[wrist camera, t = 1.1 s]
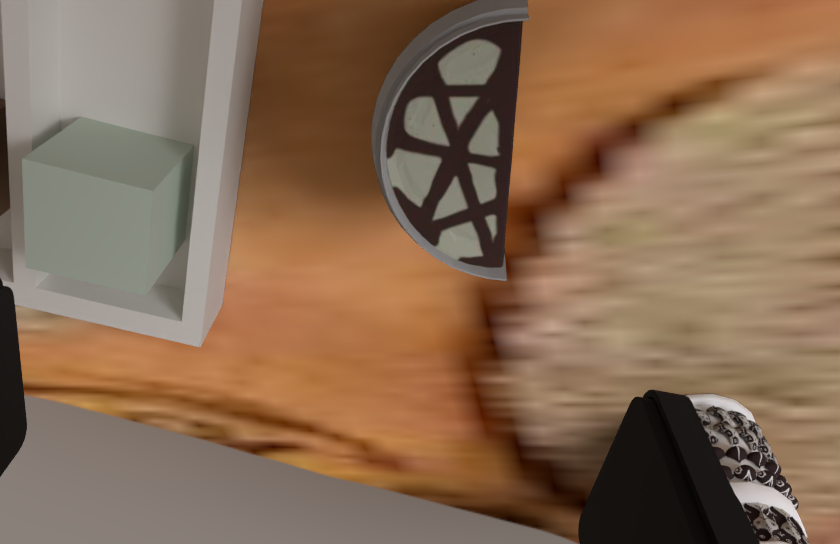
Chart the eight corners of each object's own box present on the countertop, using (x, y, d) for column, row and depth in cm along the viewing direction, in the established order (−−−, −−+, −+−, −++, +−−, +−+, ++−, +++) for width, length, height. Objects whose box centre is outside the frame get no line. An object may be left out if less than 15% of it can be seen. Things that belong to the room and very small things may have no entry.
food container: (385, -38, 35) (361, -1, 26) (513, -36, 35) (530, 2, 26) (388, 194, 41) (369, 286, 32) (496, 197, 41) (505, 291, 32)
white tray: (-160, -186, 33) (-244, -191, 29) (272, -64, 34) (248, -53, 30) (-103, 228, 44) (-157, 265, 40) (222, 304, 45) (200, 347, 42)
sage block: (81, 116, 38) (22, 158, 33) (194, 145, 38) (152, 191, 33) (80, 214, 41) (25, 267, 36) (184, 240, 41) (145, 295, 36)
